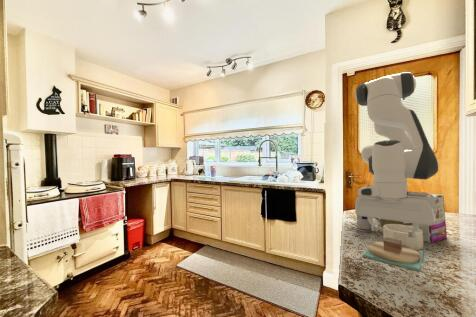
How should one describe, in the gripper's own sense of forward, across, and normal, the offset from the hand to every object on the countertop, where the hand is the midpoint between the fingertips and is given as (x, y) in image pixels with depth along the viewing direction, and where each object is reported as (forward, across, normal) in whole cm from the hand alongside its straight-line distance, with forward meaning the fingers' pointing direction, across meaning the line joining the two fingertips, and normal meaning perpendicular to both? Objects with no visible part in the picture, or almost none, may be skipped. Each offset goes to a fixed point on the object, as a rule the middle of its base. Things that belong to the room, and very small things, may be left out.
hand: (392, 233), depth 65 cm
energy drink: (+7, +13, -20) cm, 25 cm away
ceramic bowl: (+7, -1, -12) cm, 14 cm away
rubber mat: (+7, 0, +1) cm, 7 cm away
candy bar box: (+7, -8, -24) cm, 27 cm away
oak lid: (+6, 0, +1) cm, 6 cm away
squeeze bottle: (+7, +4, -25) cm, 27 cm away
